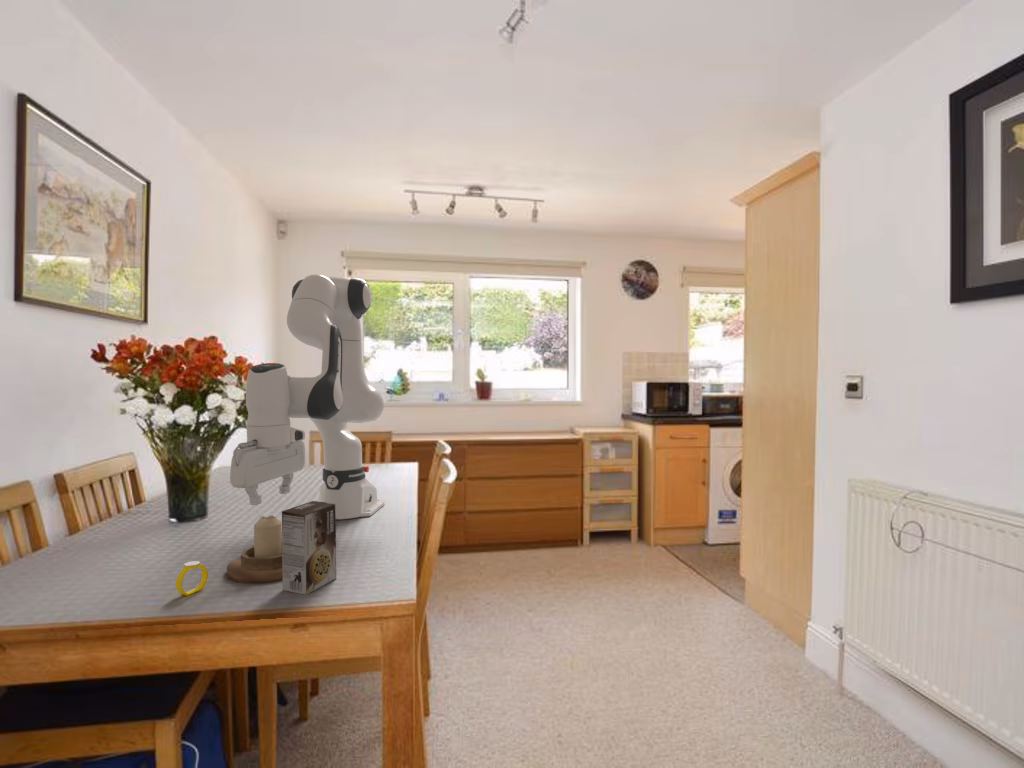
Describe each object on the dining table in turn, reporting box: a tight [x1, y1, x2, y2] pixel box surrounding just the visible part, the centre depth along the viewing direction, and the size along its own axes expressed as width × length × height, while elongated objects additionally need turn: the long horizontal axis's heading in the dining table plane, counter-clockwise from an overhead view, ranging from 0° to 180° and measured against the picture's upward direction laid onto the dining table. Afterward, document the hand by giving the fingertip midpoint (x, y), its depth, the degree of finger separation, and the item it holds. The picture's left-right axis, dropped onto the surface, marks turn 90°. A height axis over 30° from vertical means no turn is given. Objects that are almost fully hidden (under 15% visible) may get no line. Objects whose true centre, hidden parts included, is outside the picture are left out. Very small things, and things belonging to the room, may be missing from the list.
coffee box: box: [281, 500, 337, 596], centre depth 110 cm, size 9×6×16 cm
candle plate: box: [226, 545, 283, 584], centre depth 119 cm, size 17×17×4 cm
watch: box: [175, 560, 209, 597], centre depth 106 cm, size 6×3×6 cm, turn 159°
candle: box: [253, 515, 282, 558], centre depth 118 cm, size 6×6×10 cm
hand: (270, 498), depth 119 cm, fingers open, 8 cm apart
